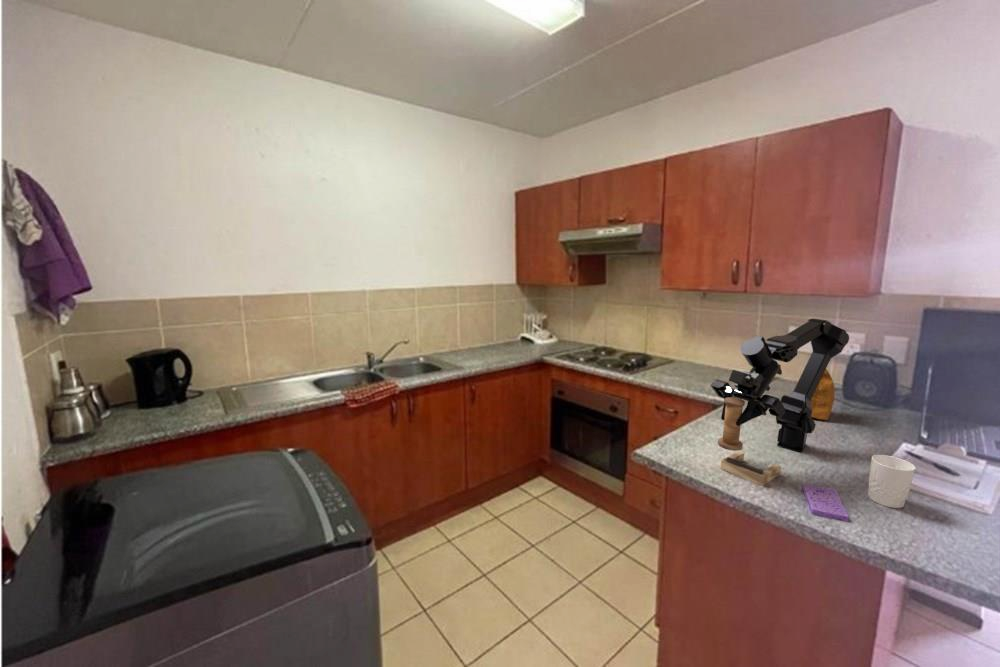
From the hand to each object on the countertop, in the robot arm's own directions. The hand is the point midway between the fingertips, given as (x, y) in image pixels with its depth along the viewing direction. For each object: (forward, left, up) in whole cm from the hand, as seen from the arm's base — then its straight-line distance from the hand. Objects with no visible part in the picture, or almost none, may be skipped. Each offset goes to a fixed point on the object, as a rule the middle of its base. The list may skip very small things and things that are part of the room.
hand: (729, 422), depth 120 cm
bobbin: (0, -1, -7) cm, 7 cm away
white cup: (-33, -13, -14) cm, 38 cm away
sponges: (-23, 0, -14) cm, 27 cm away
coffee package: (-7, -66, -14) cm, 68 cm away
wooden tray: (-5, -3, -13) cm, 15 cm away
